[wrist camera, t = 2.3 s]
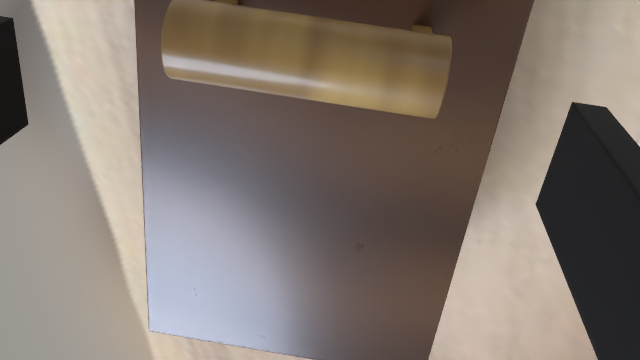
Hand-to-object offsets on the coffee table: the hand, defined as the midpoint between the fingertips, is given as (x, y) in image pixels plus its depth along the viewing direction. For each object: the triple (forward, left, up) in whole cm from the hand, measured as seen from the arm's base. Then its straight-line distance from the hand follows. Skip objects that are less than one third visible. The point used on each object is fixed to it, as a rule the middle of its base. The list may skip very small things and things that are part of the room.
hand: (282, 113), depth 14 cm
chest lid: (+7, 0, -9) cm, 11 cm away
